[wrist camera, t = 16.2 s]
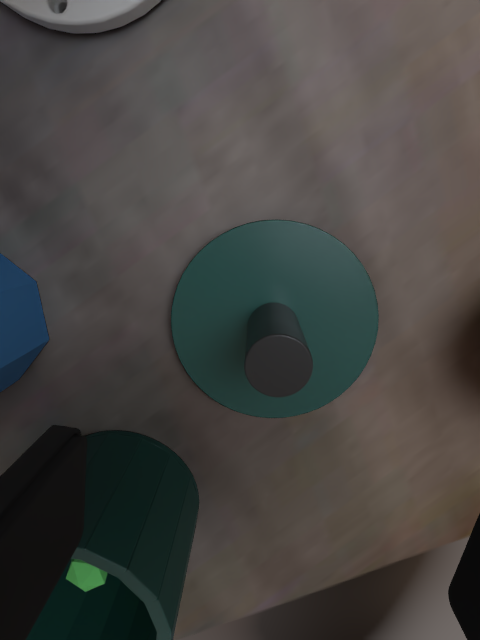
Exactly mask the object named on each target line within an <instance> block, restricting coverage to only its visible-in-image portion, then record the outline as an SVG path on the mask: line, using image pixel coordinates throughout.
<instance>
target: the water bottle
mask: <svg viewBox="0 0 480 640" xmlns="http://www.w3.org/2000/svg"><path fill="white" fill-rule="evenodd" d="M48 341H49V336H48V332H47V327H46V323H45V318H44V314H43V309H42V305H41V300H40V296H39V291H38V287H37V282H36V281H35V280H34V279H32V278H31V277H30V276H29V275H27V274H26V273H25V272H23V271H22V270H21V269H20V268H18V267H17V266H16V265H15V264H13V263H12V262H11V261H10V260H8V259H7V258H6V257H4V256H3V255H2V254H1V253H0V392H1V391H3V390H4V389H6V388H7V387H9V386H10V385H12V384H13V383H15V382H16V381H18V380H19V379H20V378H21V376H22V375H23V374H24V372H25V371H26V370H27V369H28V367H29V366H30V365H31V363H32V362H33V361H34V359H35V358H36V357H37V355H38V354H39V353H40V351H41V350H42V349H43V347H44V346H45V345H46V343H47V342H48Z"/></svg>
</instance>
